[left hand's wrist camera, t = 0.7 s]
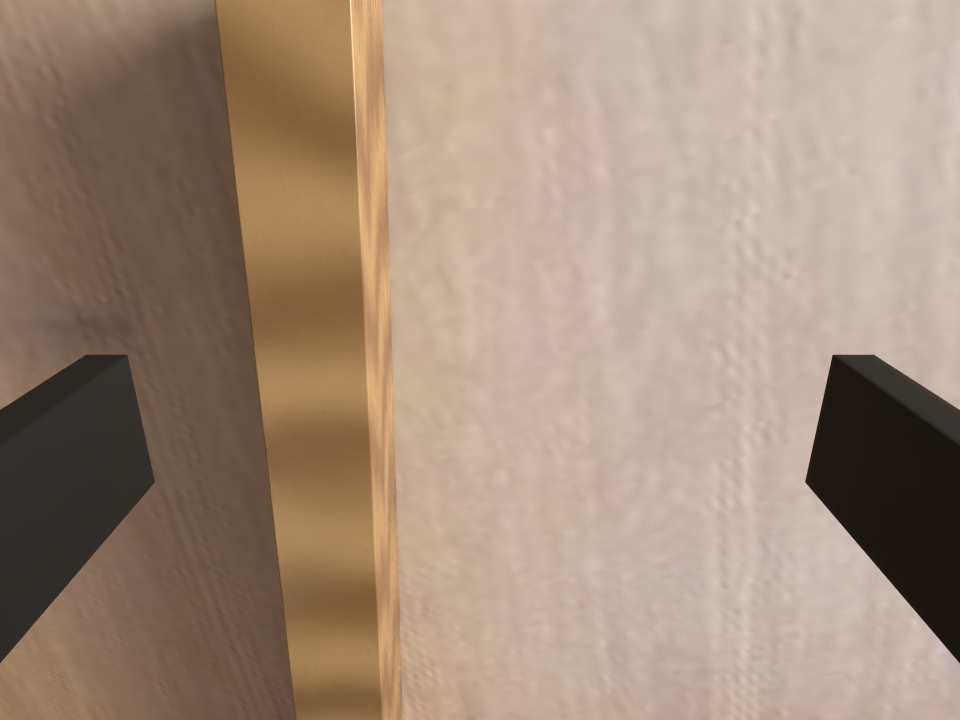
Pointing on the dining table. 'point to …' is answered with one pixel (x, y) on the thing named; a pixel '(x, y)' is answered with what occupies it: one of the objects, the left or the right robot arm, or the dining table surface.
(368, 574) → the bar
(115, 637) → the dining table surface
